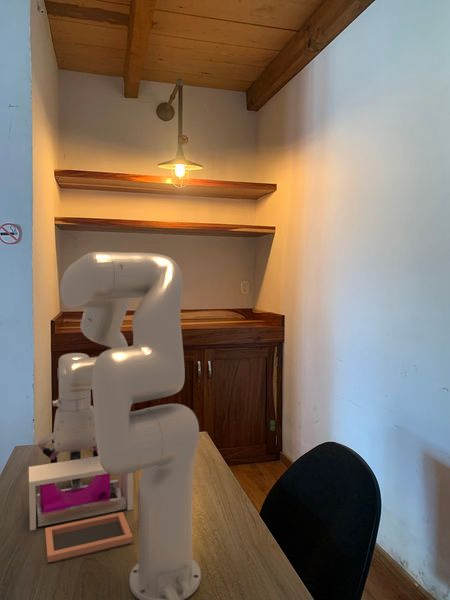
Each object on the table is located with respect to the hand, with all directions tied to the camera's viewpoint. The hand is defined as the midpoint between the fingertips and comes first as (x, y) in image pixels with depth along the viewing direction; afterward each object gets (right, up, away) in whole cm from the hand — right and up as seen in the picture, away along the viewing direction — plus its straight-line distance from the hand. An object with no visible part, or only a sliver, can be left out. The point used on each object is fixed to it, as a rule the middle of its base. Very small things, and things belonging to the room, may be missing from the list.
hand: (75, 469), depth 114 cm
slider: (+3, -5, -6) cm, 8 cm away
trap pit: (+10, -6, -22) cm, 24 cm away
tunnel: (+5, -5, -11) cm, 13 cm away
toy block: (+4, -6, -10) cm, 12 cm away
